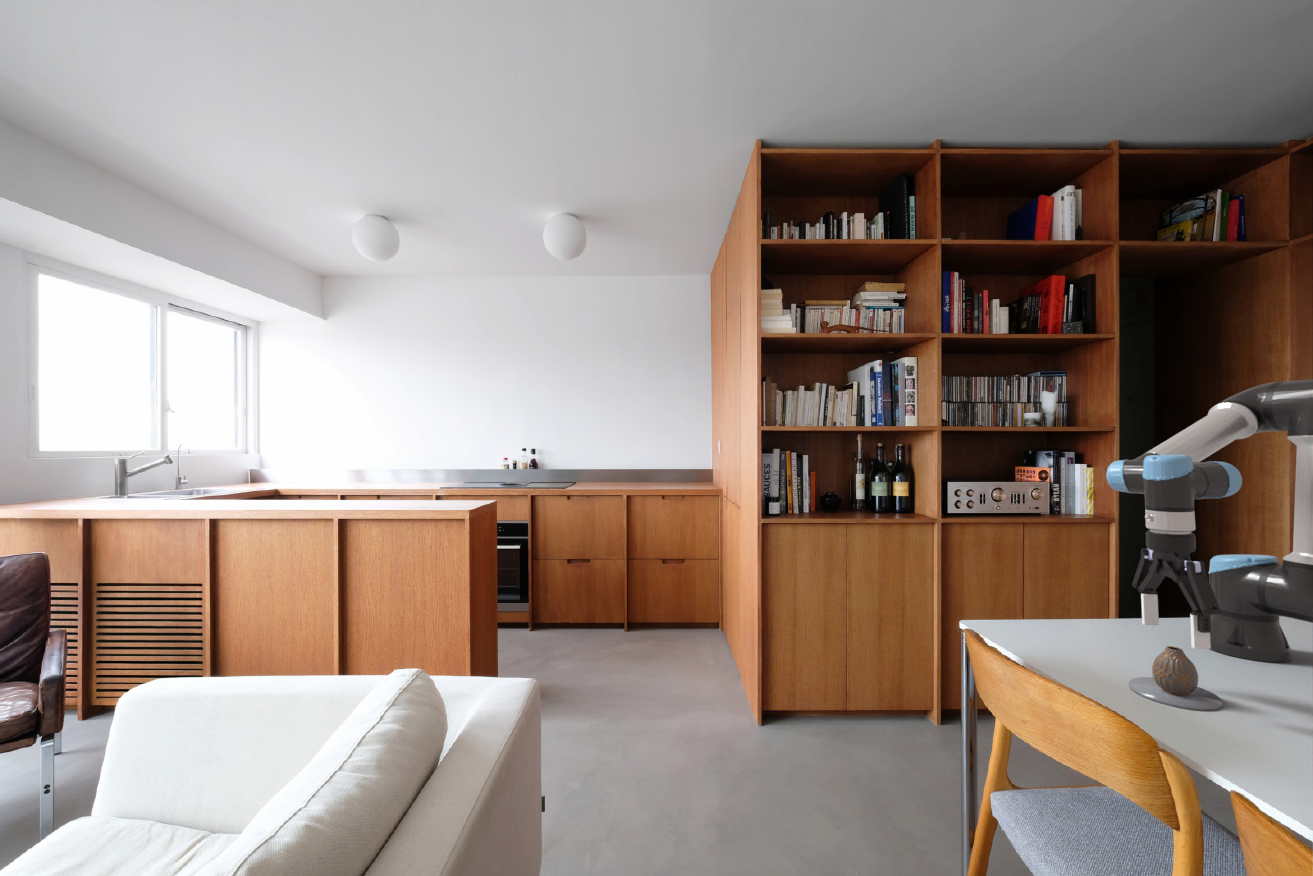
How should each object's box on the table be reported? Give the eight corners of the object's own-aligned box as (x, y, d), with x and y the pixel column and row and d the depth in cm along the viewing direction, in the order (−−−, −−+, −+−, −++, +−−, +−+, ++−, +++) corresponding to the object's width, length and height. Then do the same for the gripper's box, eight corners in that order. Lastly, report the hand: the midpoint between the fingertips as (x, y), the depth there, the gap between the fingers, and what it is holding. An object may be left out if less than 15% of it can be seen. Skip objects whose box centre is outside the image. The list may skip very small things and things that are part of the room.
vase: (1208, 700, 111) (1206, 655, 111) (1166, 697, 113) (1165, 653, 113) (1183, 685, 118) (1182, 643, 118) (1144, 683, 119) (1143, 641, 119)
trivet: (1185, 681, 121) (1185, 678, 121) (1243, 712, 107) (1243, 709, 107) (1113, 678, 123) (1113, 675, 123) (1160, 708, 110) (1159, 705, 110)
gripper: (1110, 522, 129) (1114, 616, 129) (1197, 542, 104) (1202, 659, 104) (1147, 521, 127) (1151, 616, 127) (1244, 542, 103) (1249, 659, 103)
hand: (1174, 635), depth 116 cm, fingers open, 13 cm apart
